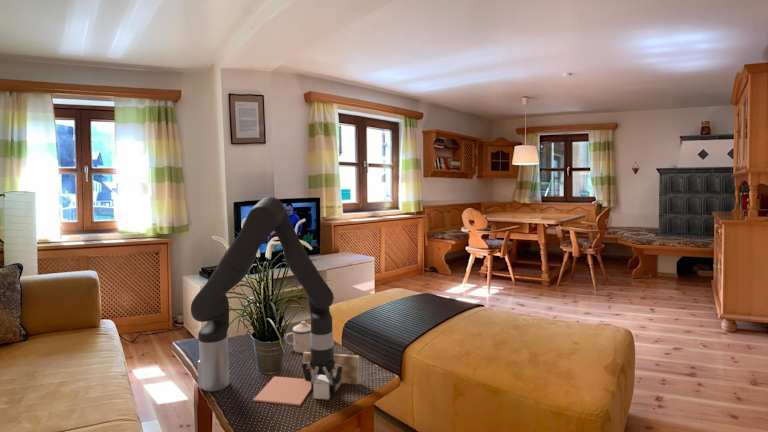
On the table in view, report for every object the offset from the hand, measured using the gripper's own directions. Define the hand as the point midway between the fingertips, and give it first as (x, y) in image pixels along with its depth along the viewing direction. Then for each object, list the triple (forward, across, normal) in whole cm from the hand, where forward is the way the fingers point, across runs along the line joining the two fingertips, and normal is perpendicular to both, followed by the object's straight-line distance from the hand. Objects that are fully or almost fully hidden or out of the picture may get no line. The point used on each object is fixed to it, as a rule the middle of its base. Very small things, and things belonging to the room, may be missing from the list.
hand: (323, 393), depth 146 cm
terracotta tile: (0, -13, 0) cm, 13 cm away
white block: (+1, 0, +3) cm, 3 cm away
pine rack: (+1, 0, +6) cm, 6 cm away
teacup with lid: (+1, -21, +34) cm, 40 cm away
